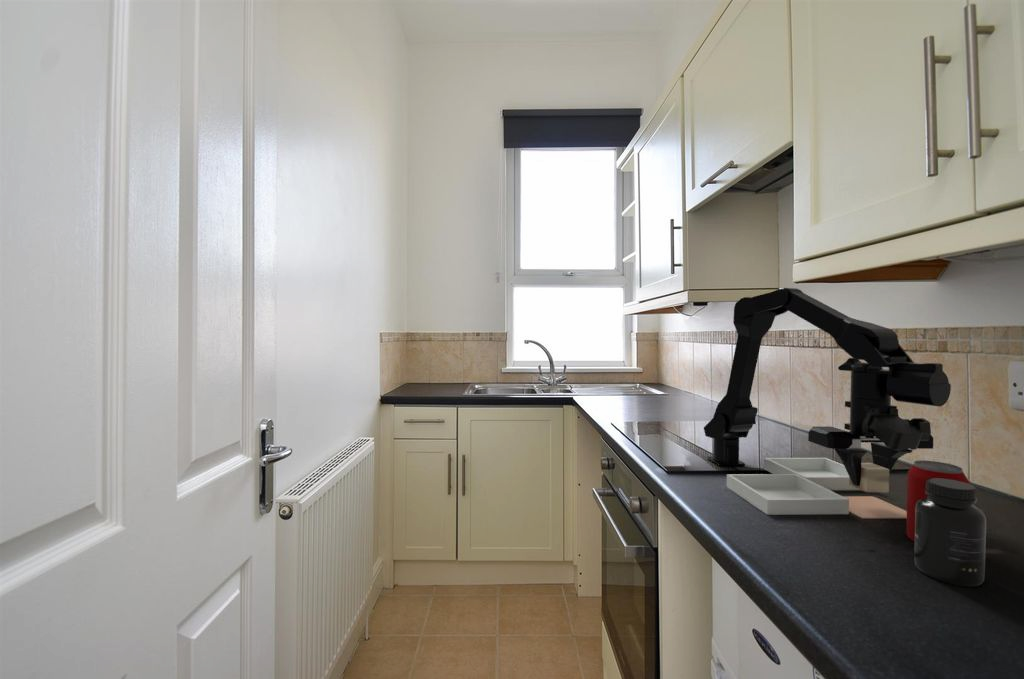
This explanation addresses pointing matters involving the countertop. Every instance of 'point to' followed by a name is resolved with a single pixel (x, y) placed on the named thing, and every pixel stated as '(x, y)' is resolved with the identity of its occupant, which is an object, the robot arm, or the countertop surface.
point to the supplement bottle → (950, 533)
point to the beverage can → (918, 485)
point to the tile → (874, 508)
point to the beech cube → (873, 478)
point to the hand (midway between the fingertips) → (868, 485)
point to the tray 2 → (812, 471)
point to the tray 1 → (786, 494)
